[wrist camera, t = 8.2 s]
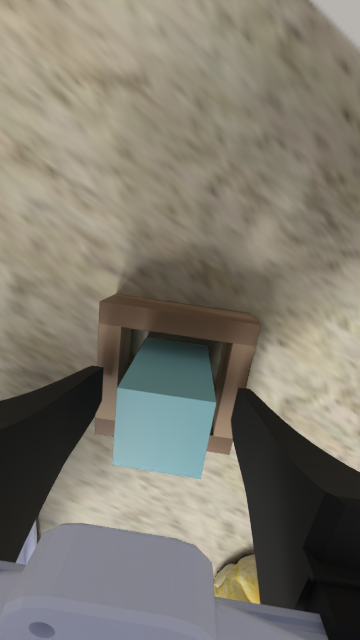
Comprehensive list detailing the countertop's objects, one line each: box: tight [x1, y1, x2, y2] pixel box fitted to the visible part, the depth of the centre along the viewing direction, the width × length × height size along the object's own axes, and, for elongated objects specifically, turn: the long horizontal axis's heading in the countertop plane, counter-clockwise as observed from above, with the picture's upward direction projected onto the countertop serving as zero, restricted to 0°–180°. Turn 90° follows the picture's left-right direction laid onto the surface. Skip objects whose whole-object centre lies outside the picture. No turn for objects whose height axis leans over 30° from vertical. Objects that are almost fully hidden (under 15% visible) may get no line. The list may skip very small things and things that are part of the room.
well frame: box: [95, 294, 261, 455], centre depth 14 cm, size 8×8×2 cm
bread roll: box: [214, 554, 260, 604], centre depth 19 cm, size 8×9×4 cm
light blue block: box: [112, 337, 216, 479], centre depth 12 cm, size 4×4×6 cm
